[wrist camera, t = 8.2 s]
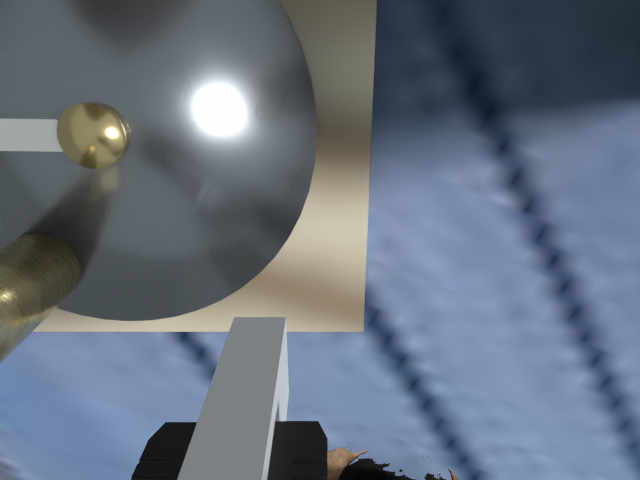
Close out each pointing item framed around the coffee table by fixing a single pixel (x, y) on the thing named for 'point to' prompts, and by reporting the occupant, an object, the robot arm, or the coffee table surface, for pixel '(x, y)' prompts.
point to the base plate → (322, 201)
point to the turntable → (146, 154)
